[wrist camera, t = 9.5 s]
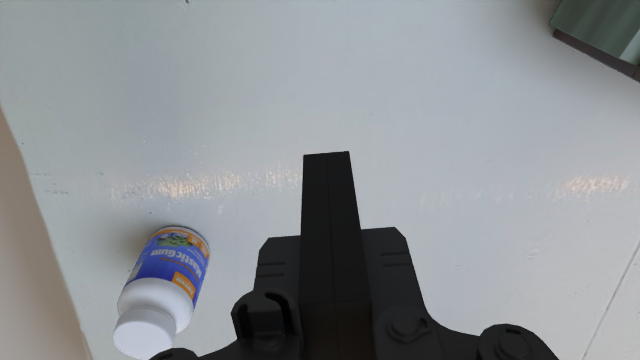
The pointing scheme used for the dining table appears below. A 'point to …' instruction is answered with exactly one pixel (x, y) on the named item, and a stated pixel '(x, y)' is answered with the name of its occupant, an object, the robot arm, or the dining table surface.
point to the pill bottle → (161, 292)
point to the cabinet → (600, 55)
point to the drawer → (603, 25)
